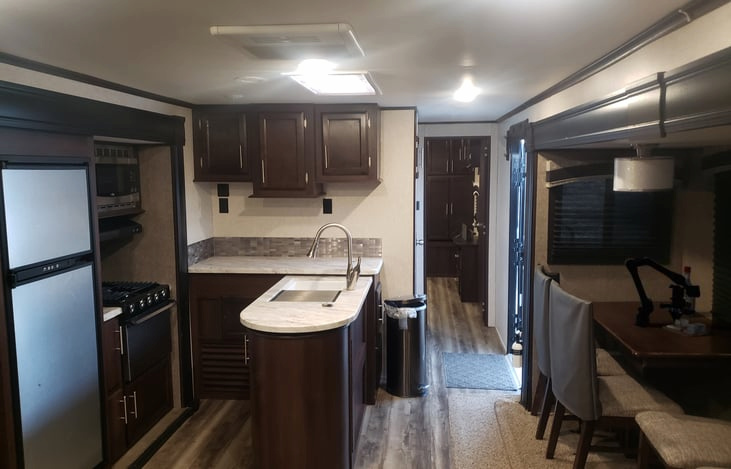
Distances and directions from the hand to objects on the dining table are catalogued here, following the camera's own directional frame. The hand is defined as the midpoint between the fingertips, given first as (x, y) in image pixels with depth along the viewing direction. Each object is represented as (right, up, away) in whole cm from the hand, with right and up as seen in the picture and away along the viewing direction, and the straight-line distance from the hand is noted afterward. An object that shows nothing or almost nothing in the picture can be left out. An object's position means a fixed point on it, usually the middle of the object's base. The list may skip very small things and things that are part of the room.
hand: (676, 323), depth 294 cm
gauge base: (+1, -3, -6) cm, 7 cm away
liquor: (+22, 0, +28) cm, 36 cm away
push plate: (-1, -1, -4) cm, 4 cm away
